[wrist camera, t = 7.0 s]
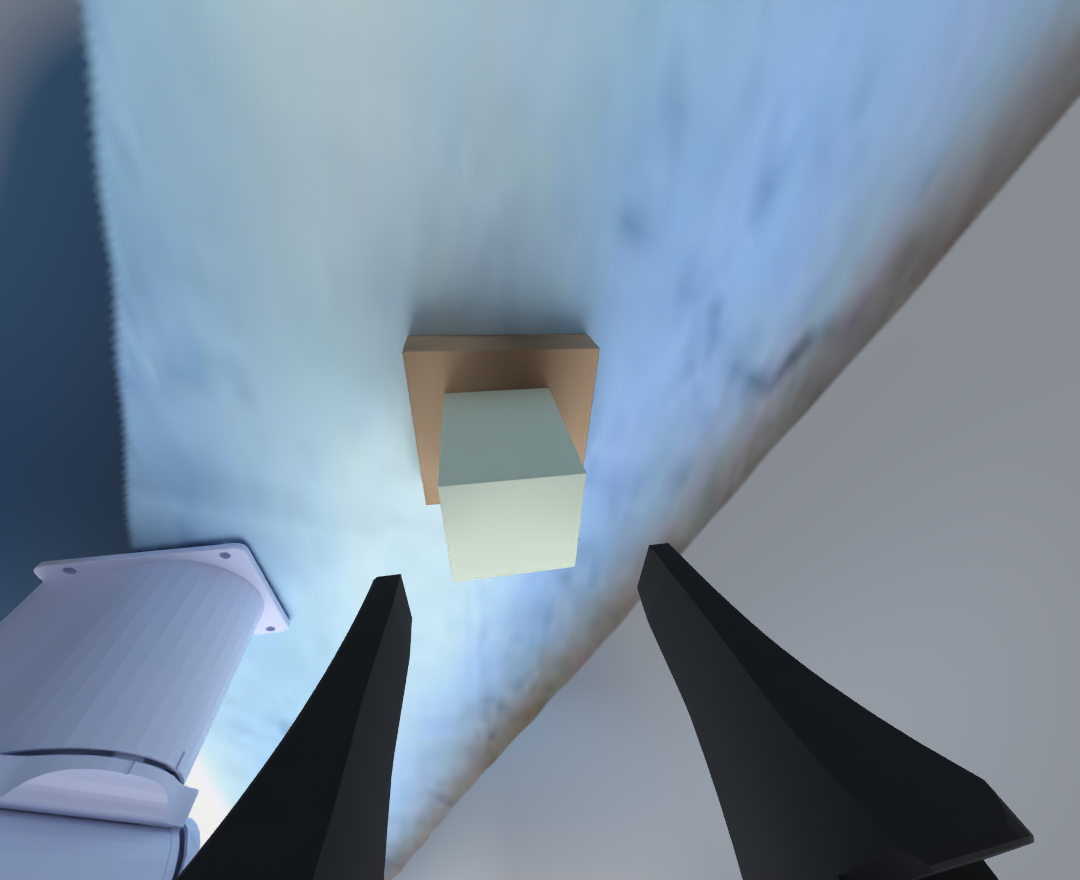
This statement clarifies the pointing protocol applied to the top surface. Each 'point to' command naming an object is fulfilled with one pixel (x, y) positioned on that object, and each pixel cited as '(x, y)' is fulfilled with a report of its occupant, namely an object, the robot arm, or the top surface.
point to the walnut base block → (496, 382)
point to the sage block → (508, 484)
